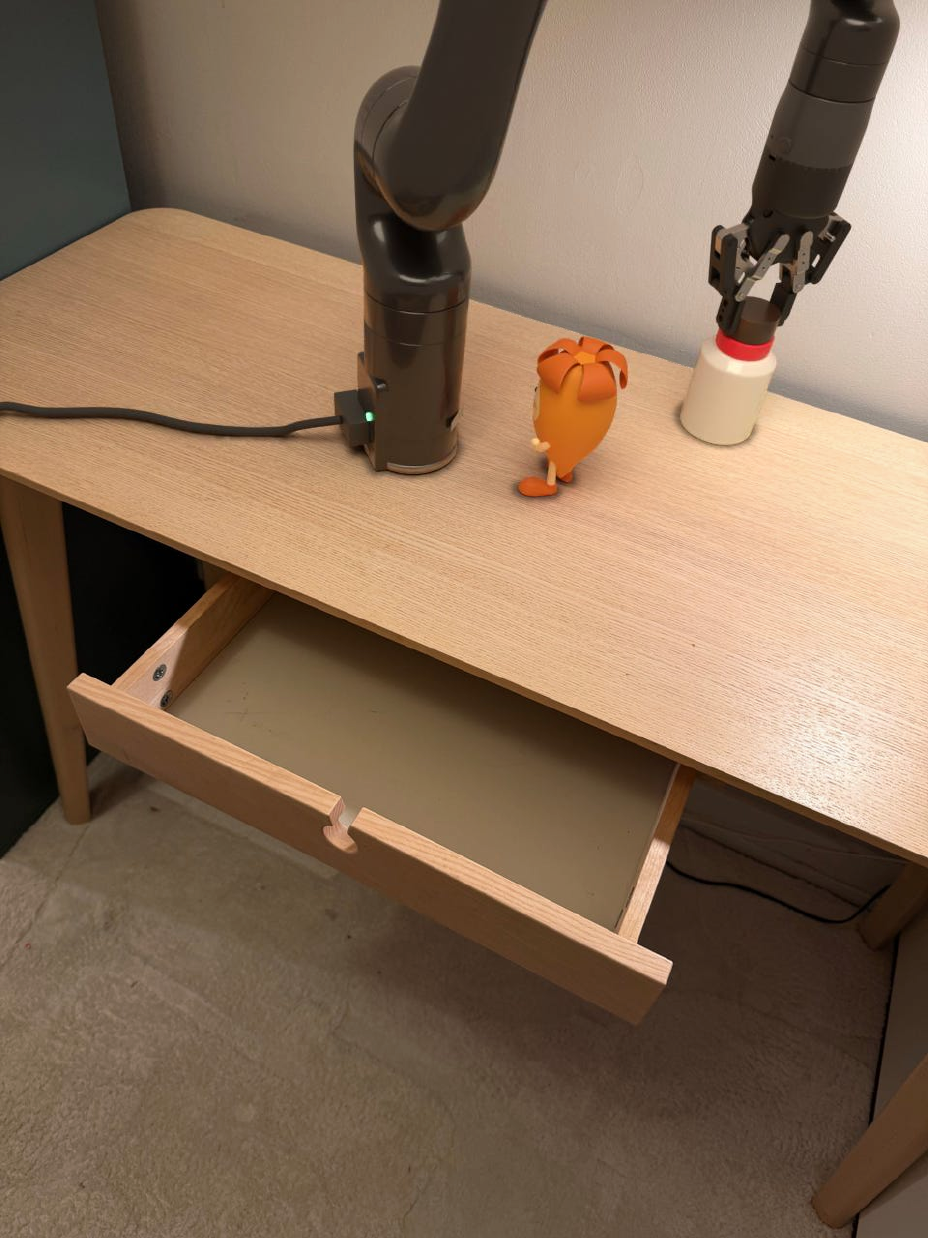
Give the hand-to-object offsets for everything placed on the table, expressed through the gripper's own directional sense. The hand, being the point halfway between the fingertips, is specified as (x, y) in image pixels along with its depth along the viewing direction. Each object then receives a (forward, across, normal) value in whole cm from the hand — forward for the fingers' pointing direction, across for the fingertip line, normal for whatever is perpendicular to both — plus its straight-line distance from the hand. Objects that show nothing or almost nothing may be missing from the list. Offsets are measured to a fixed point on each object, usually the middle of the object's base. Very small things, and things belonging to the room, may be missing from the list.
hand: (749, 325), depth 89 cm
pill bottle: (+12, 0, 0) cm, 12 cm away
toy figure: (+12, +21, +5) cm, 25 cm away
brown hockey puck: (+1, 0, 0) cm, 1 cm away
